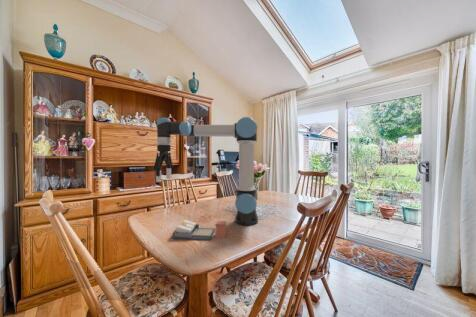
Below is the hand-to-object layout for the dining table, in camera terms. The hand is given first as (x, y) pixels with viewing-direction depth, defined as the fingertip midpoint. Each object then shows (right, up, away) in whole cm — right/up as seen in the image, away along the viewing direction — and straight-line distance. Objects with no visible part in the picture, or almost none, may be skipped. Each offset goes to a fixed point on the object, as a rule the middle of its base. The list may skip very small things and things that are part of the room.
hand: (164, 180), depth 120 cm
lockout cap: (+35, -29, -12) cm, 47 cm away
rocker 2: (+16, -26, -11) cm, 32 cm away
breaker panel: (+21, -28, -11) cm, 37 cm away
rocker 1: (+16, -26, -15) cm, 33 cm away
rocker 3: (+16, -26, -7) cm, 31 cm away
